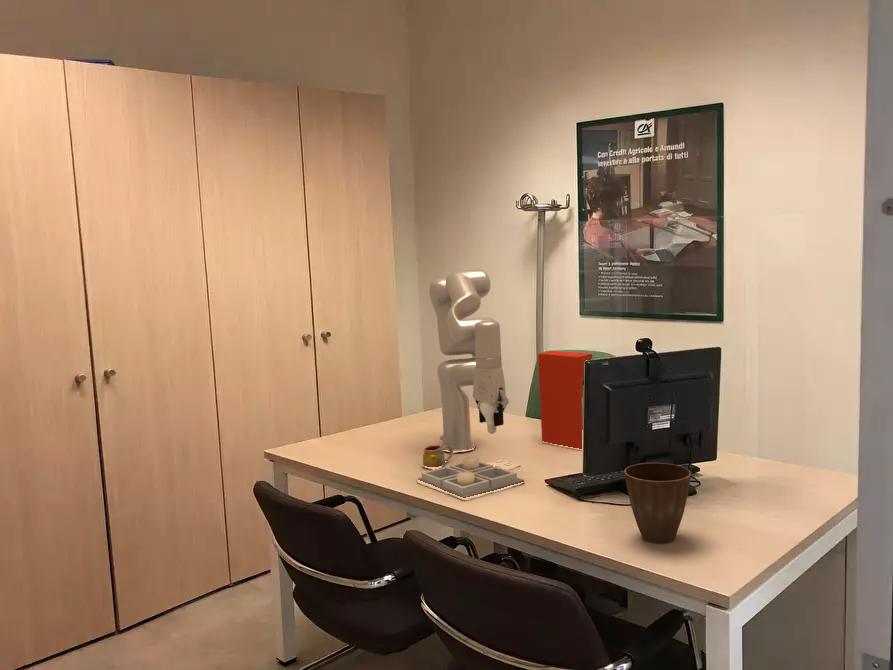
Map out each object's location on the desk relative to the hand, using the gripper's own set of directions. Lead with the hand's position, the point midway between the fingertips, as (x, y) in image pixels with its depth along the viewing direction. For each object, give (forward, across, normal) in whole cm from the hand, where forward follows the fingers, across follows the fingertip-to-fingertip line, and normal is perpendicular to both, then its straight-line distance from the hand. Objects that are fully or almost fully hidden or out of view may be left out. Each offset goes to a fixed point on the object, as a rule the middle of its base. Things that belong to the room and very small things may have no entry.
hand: (491, 423), depth 226 cm
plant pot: (+18, +60, +1) cm, 62 cm away
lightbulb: (+3, 0, 0) cm, 3 cm away
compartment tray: (+18, -6, -5) cm, 20 cm away
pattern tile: (+18, -12, +12) cm, 25 cm away
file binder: (+19, -16, +46) cm, 52 cm away
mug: (+19, -28, 0) cm, 33 cm away
